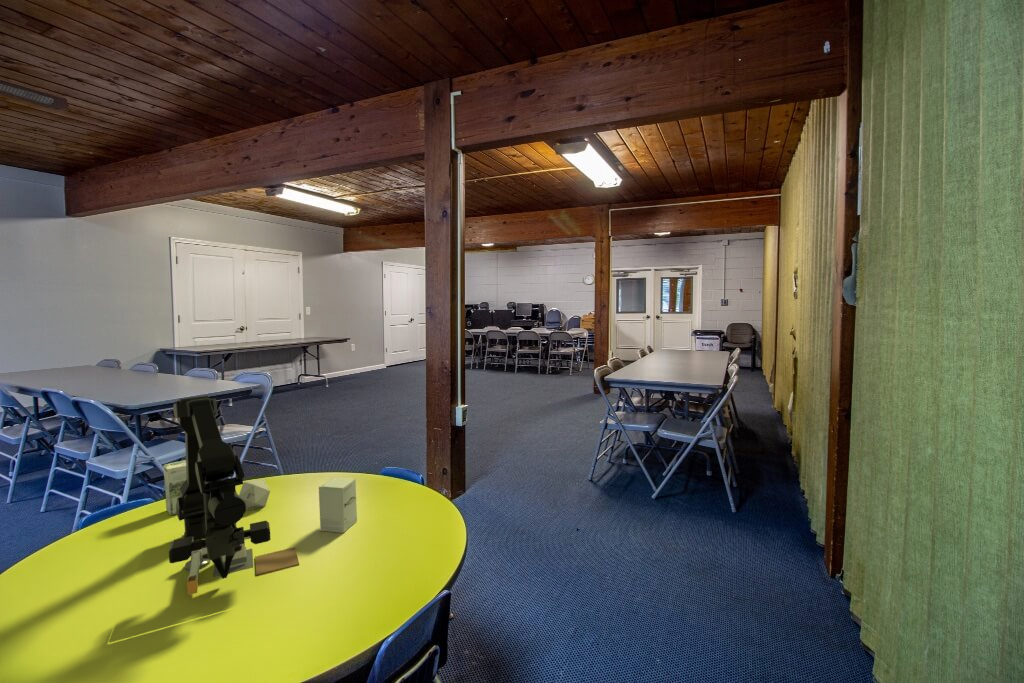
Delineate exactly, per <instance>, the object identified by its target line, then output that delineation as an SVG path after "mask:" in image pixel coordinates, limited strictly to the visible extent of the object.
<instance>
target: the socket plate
mask: <svg viewBox="0 0 1024 683" xmlns="http://www.w3.org/2000/svg"><path fill="white" fill-rule="evenodd" d="M246 553H247V562H246V564H243V565H239V566H235V567H231V568H229V572H228V574H232V573H237V572H239V571H240V572H241V571H244V570H248V569H252V568H254V557H253V556H254V555H253V548H248V549H246ZM219 576H220V577H221V575H220V573H219V571H218V570H217V567H216V566H215V565H214V569H213V578H216V577H219Z"/></svg>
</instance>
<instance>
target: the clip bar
mask: <svg viewBox="0 0 1024 683" xmlns="http://www.w3.org/2000/svg"><path fill="white" fill-rule="evenodd" d="M202 556H203V551H202V549H200V550H196V551H192V555H191V556H190V560H191V569H190V571H189V576H187V580H186V581H187V582H186V586H187V587H186V588H187V595H188V596H190V595H194V594H197V593H198V586H199V585H198V581H199V573H200V569H199V568H200V562H202V561H203V560H204V559H203V557H202Z"/></svg>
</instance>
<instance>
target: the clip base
mask: <svg viewBox="0 0 1024 683" xmlns="http://www.w3.org/2000/svg"><path fill="white" fill-rule="evenodd" d="M210 564H211V560H210V559H204V560H203V561H202V562H200V568H199V570H201V569H203V568H206V567H208V566H209V565H210ZM184 567H185V568H184V569H185V570H186V571H189V572H190V569H191V559H190V560H188V561H187V562H185V564H184Z"/></svg>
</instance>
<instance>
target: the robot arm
mask: <svg viewBox="0 0 1024 683" xmlns="http://www.w3.org/2000/svg"><path fill="white" fill-rule="evenodd" d="M217 408H218V407H217V399H216V398H209V395H200V396H191V397H182V398H178V400H177V401H176V403H173V415H174V418H175V419H177V423H178V424H179V426H180V428H181V429H182V430H183V431H184V440H185V461H186V480H185V482H184V483H183V485H182V486H181V487H180V497H178V498H177V503H176V513H177V514H176V516H177V519H178V521H180V522H181V521H182V520H183V522H184V523H183V525H184V533H183V537H181V538H176V539H173V541H172V542H171V543H170V546H169V550H168V560H169V561H168V562H169V564H176V563H179V562H184V561H187V560H188V561H189V558H190V559H191V555H192V551H196V550H200V549H202V551H203V556H202V557H203V559H210V562H212V563H213V564H214V567H215V566H216V567H217V570H218V571H219V573H220V577H221V579H222V580H224V579H227V578H228V575H229V573H228V572H229V568H230V565H231V562H232V559H233V557H234V555H235V553H236V552H238V551H240V550H242V544H244V540H245V541H246V540H250V542H251V543H252V544H254V545H258V544H264V543H267V542H270V541H271V539H272V538H271V528H270V522H268V520H262V521H257V522H253V523H249V529H245V527H244V526H241V527H237V523H238V522H240V521H241V519H243V517H244V516H245V513H246V511H247V510H246V505H245V503H244V501H243V500H242V499H241V497H240V496H239V493H238V492H237V491H236V487H237V486H242V485H243V483H244V480H243V479H244V478H245V472H244V470H243V464H242V461H241V459H240V458H239V456H238V455H237V454H235V452H234V450H233V448H232V445H230V444H229V443H227V442H225V441H223V439H222V435H221V432H220V430H219V425H218V422H217V418H216V417H215V413H218V409H217ZM234 475H235V476H236V477H235V476H234ZM233 476H234V477H233ZM243 527H244V528H243ZM225 555H226V556H225ZM222 556H225V567H224V565H223V560H222Z"/></svg>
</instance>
